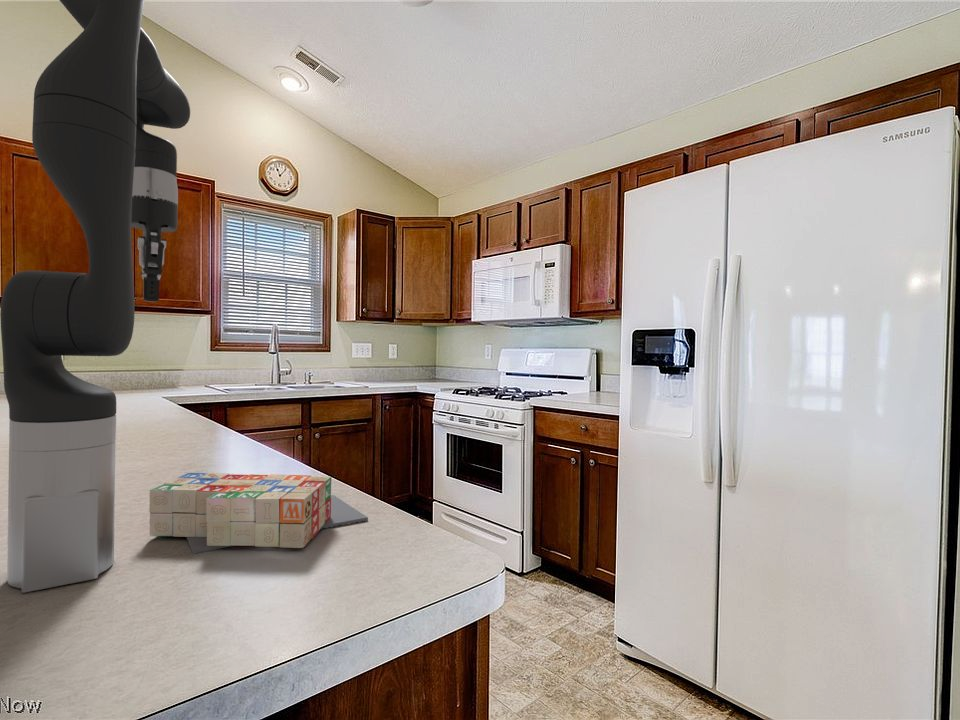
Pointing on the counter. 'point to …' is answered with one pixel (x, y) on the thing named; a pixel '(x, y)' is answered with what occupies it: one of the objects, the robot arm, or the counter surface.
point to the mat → (339, 516)
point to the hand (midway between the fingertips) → (150, 301)
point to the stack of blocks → (242, 508)
